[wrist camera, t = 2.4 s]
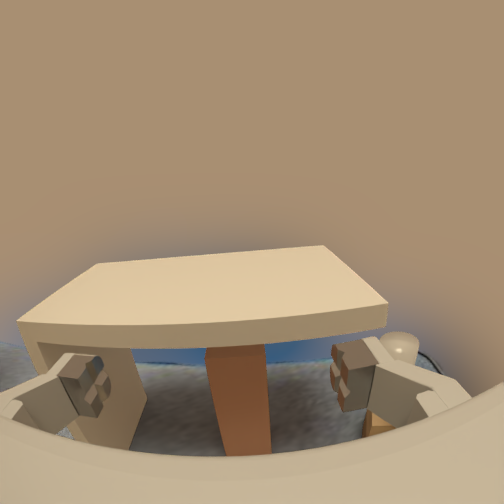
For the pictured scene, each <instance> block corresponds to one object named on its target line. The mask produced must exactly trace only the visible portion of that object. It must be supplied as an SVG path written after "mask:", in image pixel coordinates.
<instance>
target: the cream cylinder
mask: <svg viewBox="0 0 504 504" xmlns="http://www.w3.org/2000/svg"><path fill="white" fill-rule="evenodd" d="M379 341H380V343H381V344H382V345H383V346H384V348H385V349H386V350H387V352H388V353H389V354H390V355H391V357H392V358H393V359H394V360H401V361H404V362H406V363H409V364H412V365H415V361H416V357H417V352H418V348H419V341H418V339H417V338H416V337H415V336H413V335H411V334H409V333H405V332H390V333H386V334H384V335H383V336H382V337H381V338H380V340H379Z"/></svg>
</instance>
